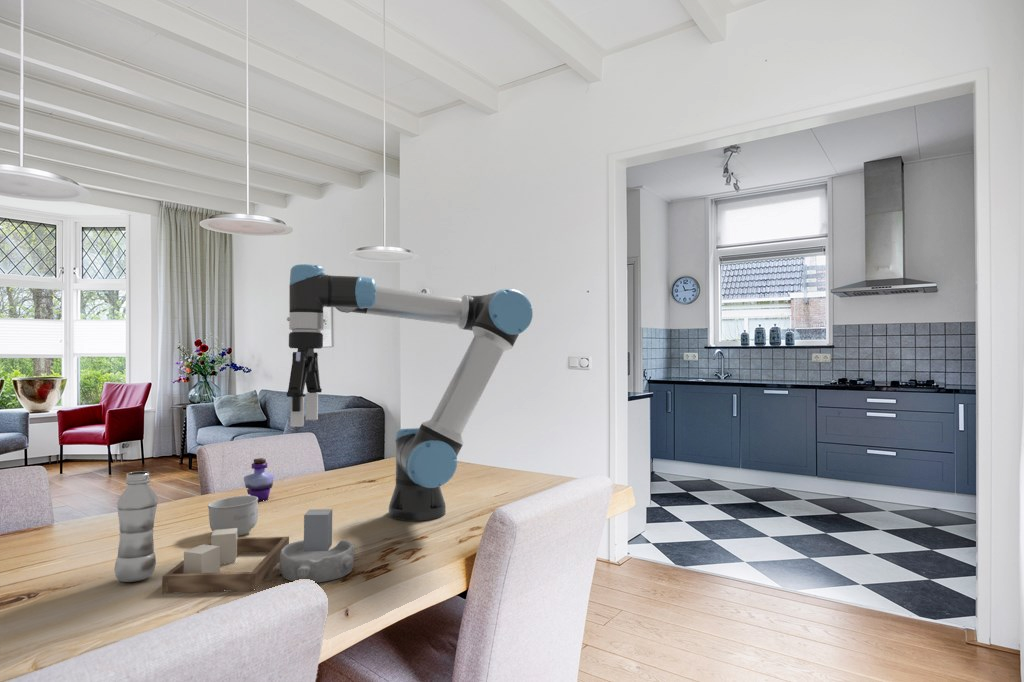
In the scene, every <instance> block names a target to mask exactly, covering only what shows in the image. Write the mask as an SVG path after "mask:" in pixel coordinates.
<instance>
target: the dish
mask: <svg viewBox="0 0 1024 682" xmlns="http://www.w3.org/2000/svg"><path fill="white" fill-rule="evenodd" d="M354 563H355V549H354V545H353V542H351V541H348V540H346V539H341V540H339V542H338V543H337V544H336V546H334V547H333V548H330V549H329V550H328V551H308V552H304V539H302V540H297V541H293V542H291V543H289V544H288V545H287V546H285V547H284V548H283V549H282V550H281V554H280V562H279V568H280V574H281V576H282V578H284V579H286V580H287V581H291V582H294V581H295V580H299V579H310V580H313V581H315V582H316V583H317V584H319V583H324V582H328V581H329V582H330V581H333V580H337V579H340V578H343V577H346V576H347V575H349V573H351V572H352V571H353V569H354V568H353V567H354ZM316 583H315V584H316Z"/></svg>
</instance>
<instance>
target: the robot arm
mask: <svg viewBox="0 0 1024 682" xmlns="http://www.w3.org/2000/svg"><path fill="white" fill-rule="evenodd" d="M289 275H290V276H289V287H288V288H289V298H288V299H289V300H288V301H289V304H288V305H289V309H288V310H289V314H288V315H289V316H288V317H287V318H286V321H287V322H289V323H288V327H289V328H288V329H289V330H290V331H291V332H289V333H288V347H289V348H290V349H297V350H296V351H294V352H292V360H291V361H292V363H291V369H290V374H289V375H290V376H289V383H288V388H287V392H286V397H287V398H289V397H290V419H289V420H290V421H289V422H290V423H289V424H290V425H289V426H290V427H292V428H293V427H296V428H297V427H299V428H301V427H305V426H304V425H305V421H317V420H319V419H318V418H319V417H318V416H319V414H318V413H319V393H322V390H323V389H322V388H321V382H320V381H321V380H320V373H319V363H318V362H319V361H318V360H319V359H318V356H319V353H318V352H315V349H322V348H323V347H324V346H323V345H324V334H323V333H322V332H321V331H323V330H324V308H326V307H327V308H335V309H336V310H337V311H339V312H341V313H345V314H346V313H355V314H356V313H357V314H368V315H374V316H382V317H391V318H399V319H406V320H407V319H408V320H415V321H423V322H429V323H430V322H431V323H439V324H447V325H456V326H457V327H458V329H460V330H465V331H466V330H467V331H472V332H473V338H472V340H471V342H470V343H469V346H468V347H467V349H466V352H465V353H464V355H463V357H462V359H461V361H460V363H459V365H458V367H457V368H456V370H455V372H454V374H453V376H452V378H451V380H450V381H449V384H448V386H447V387H446V389H445V391H444V393H443V395H442V398H441V399H440V401H439V403H438V404H437V406H436V409H435V411H434V412H433V414H432V416H431V418H430V419H429V420H426V421H423V422H422V423H421V424H420V426H419V427H415V428H414V427H412V428H401V429H398V430H397V431H396V436H395V487H394V489H393V492H392V495H391V499H390V501H389V504H388V516H389V517H390V518H392V519H394V520H400V521H409V522H410V521H411V522H412V521H413V522H416V521H417V522H418V521H429V520H434V519H437V518H441V517H443V516H444V515H446V501H445V499H444V495H443V491H442V489H441V486H444V485H445V484H447V483H448V482H449V481H450V480H451V479H452V478H453V477H454V474H455V473H456V472H457V471H456V470H457V467H458V455H459V453H460V451H461V449H462V448H463V445H464V441H463V439H462V438H463V437H462V434H463V433H464V430H465V429H466V426H467V424H468V423H469V421H470V418H471V416H472V415H473V412H474V410H475V408H476V406H477V405H478V403H479V401H480V399H481V398H482V394H483V393H484V391H485V389H486V386H487V385H488V383H489V381H490V379H491V377H492V376H493V373H494V372H495V370H496V368H497V365H498V363H499V361H500V359H501V357H502V355H503V354H504V352H505V351H508V350H511V349H513V348H514V345H515V342H516V341H517V339H518V337H519V334H521V333H523V332H525V330H527V328H529V327H530V324H532V323H531V322H532V319H533V314H534V313H533V307H532V303H531V301H530V300H529V299H528V297H527V296H526V295H525V294H524V293H522V292H521V291H519V290H518V289H513V288H503V289H499V290H497V291H495V292H492V293H488V294H483V295H470V294H463V295H462V296H461V297H457V296H449V295H443V294H442V295H441V294H435V293H426V292H419V291H411V290H406V289H405V290H404V289H398V288H391V287H390V288H389V287H382V286H376V280H375V279H374V277H373V278H372V277H367V276H366V277H365V276H362V275H360V276H354V275H353V276H349V275H348V276H347V275H329V274H325V270H324V267H323V266H321V265H318V264H315V265H314V264H302V263H301V264H295V265H293V266H292V267H291V268H290V274H289ZM305 386H306V391H307V392H306V393H305V396H304V391H305Z"/></svg>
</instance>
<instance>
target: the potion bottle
mask: <svg viewBox="0 0 1024 682" xmlns="http://www.w3.org/2000/svg"><path fill="white" fill-rule="evenodd" d="M266 461H267V460H266V458H264V457H263V458H262V457H259V458H255V459H253V462H251V469H252V470H253V473H251V474H248V475H245V476H244V477H243V482H244V485H245V489H246V490H247V495H251V496H256V497H258V503H263V502H265V501H266V500H267V501H269V499H268V498H269V497H270V494H271V493H270V492H271V489H272V488H273V485H274V479H275V475H276V474H273V473H269V472H266V469H267V468H268V465H269V464H268V462H266ZM263 500H264V501H263ZM267 501H266V502H267Z"/></svg>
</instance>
